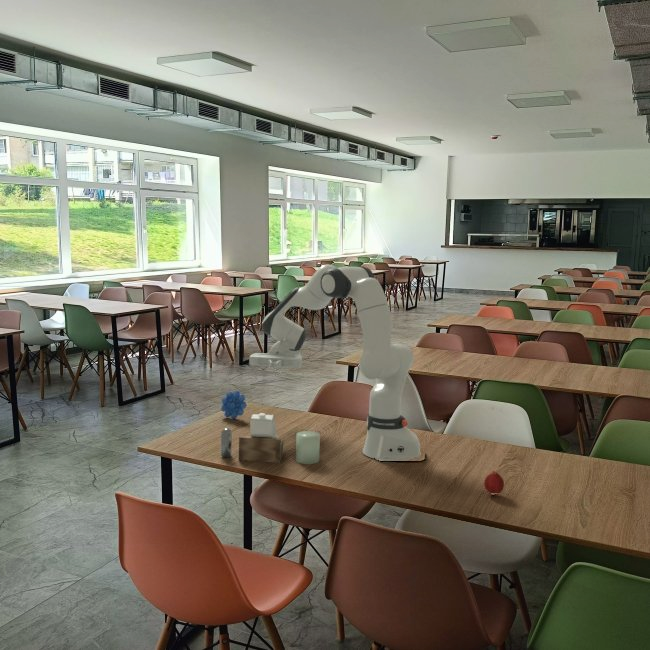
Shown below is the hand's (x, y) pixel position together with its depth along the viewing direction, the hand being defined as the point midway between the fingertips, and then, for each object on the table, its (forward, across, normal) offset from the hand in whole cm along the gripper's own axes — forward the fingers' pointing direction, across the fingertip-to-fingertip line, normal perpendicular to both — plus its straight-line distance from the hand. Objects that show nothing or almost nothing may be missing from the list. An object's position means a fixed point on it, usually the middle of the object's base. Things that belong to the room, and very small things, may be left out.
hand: (273, 365), depth 240 cm
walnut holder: (+22, 0, +27) cm, 35 cm away
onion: (+45, +74, +26) cm, 91 cm away
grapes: (-20, -18, +28) cm, 39 cm away
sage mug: (+22, +15, +27) cm, 38 cm away
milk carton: (+14, 0, +25) cm, 28 cm away
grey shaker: (+24, -12, +27) cm, 38 cm away
